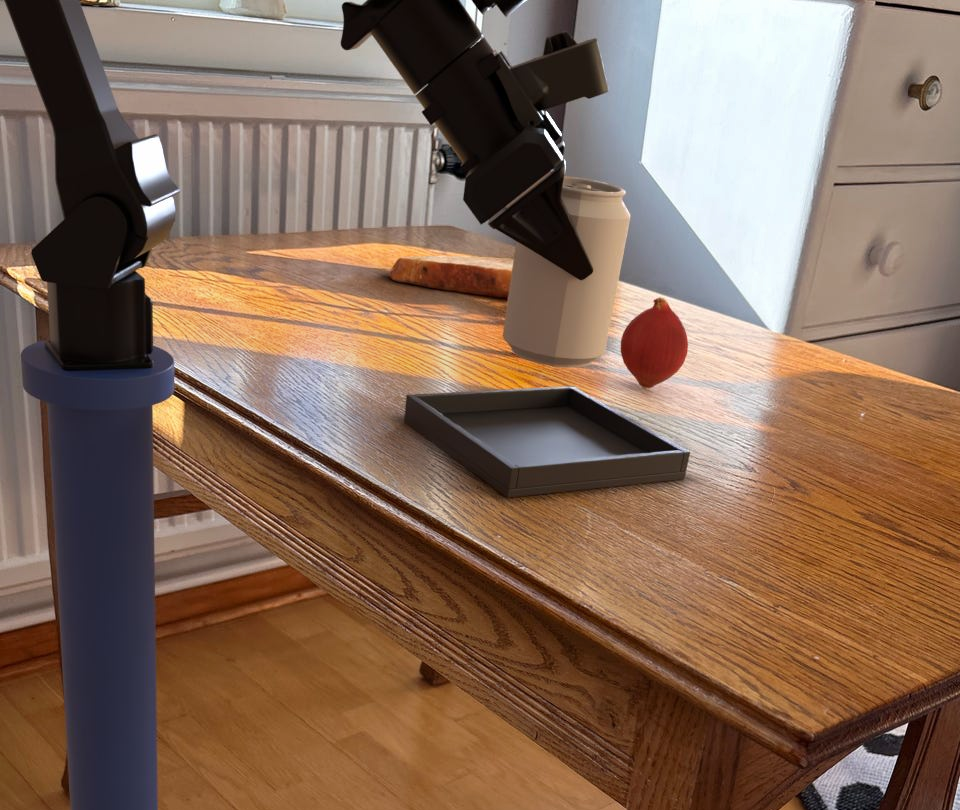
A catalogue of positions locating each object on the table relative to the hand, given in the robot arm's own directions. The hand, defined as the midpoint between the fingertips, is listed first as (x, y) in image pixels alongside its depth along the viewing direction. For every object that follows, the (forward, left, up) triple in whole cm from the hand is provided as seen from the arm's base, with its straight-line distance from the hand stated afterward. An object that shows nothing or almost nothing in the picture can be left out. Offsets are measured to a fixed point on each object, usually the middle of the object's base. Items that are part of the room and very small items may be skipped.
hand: (586, 264), depth 82 cm
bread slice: (+21, +46, -13) cm, 53 cm away
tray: (-2, -1, -13) cm, 13 cm away
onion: (+17, +11, -13) cm, 25 cm away
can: (-1, +1, -7) cm, 7 cm away
